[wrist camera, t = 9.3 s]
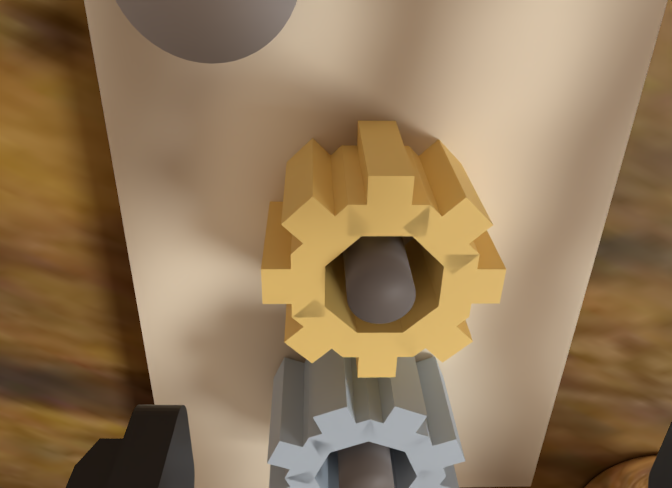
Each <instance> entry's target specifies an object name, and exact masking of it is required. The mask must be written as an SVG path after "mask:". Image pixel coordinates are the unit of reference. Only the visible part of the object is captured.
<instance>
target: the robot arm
mask: <svg viewBox="0 0 672 488" xmlns="http://www.w3.org/2000/svg"><path fill="white" fill-rule="evenodd" d="M194 482H195V470H194V460H193V453H192V445H191V437H190V429H189V422H188V414H187V409H186V406H185V405H137V406H136V407H135V409H134V411H133V413H132V416H131V418H130V421H129V424H128V427H127V430H126V432H125V435H124V438H123V439H99V440H98V441H97V442H96V443H95V445H94V446H93V447H92V448H91V449H90V450H89V451H88V452H87V453H86V454H85V455H84V457H83V458H82V459H81V460H80V461H79V462H78V463H77V464H76V465H75V467H74V469H73V472H72V474H71V476H70V479H69V481H68V483H67V486H66V488H194ZM648 488H672V422H671V425H670V427H669V429H668V431H667V434H666V436H665V438H664V441H663V443H662V445H661V448H660V450H659V452H658V454H657V457H656V459H655V461H654V464H653V466H652V468H651V471H650V473H649V478H648Z"/></svg>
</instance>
